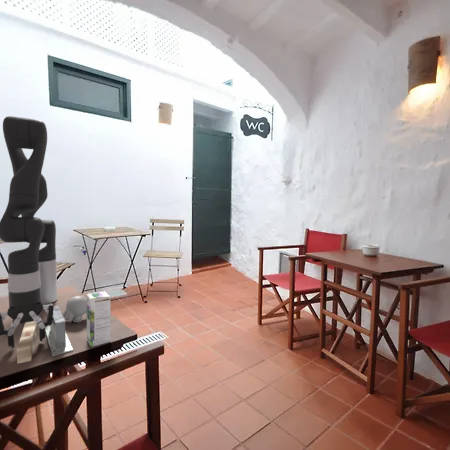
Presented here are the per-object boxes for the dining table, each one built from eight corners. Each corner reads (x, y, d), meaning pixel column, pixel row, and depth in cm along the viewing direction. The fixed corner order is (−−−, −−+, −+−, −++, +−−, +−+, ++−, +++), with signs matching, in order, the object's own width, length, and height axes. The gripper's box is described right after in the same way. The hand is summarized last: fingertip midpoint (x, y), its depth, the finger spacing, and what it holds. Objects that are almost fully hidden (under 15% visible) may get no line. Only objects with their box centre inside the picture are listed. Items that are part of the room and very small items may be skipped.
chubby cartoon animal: (98, 326, 104) (107, 303, 105) (63, 322, 96) (73, 297, 97) (92, 319, 109) (101, 297, 110) (58, 314, 102) (68, 291, 103)
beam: (25, 334, 92) (25, 322, 92) (37, 332, 93) (36, 320, 93) (17, 364, 76) (16, 349, 76) (31, 361, 78) (30, 347, 77)
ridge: (44, 328, 96) (43, 305, 95) (61, 324, 99) (61, 301, 98) (52, 356, 80) (51, 328, 79) (72, 350, 83) (72, 323, 82)
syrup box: (86, 339, 89) (85, 293, 88) (106, 334, 93) (105, 290, 91) (90, 347, 85) (89, 299, 83) (111, 341, 88) (111, 295, 87)
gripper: (52, 280, 90) (54, 332, 92) (-8, 287, 82) (-4, 345, 83) (55, 286, 84) (57, 341, 86) (-9, 295, 76) (-5, 357, 77)
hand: (27, 343), depth 85 cm, fingers open, 6 cm apart
